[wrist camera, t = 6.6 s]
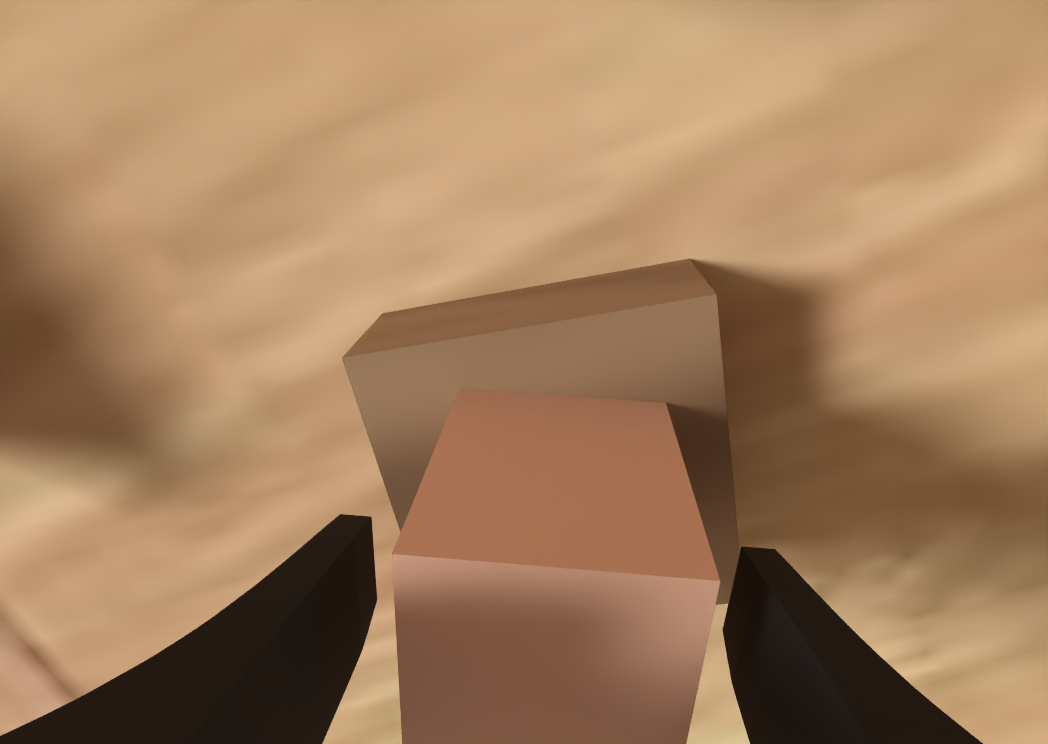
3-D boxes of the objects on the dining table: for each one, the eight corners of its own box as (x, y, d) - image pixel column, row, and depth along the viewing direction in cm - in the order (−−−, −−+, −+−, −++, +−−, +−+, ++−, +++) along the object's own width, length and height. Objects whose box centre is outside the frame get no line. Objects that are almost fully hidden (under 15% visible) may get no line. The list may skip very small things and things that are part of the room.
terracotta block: (642, 567, 15) (674, 796, 10) (459, 552, 15) (403, 769, 10) (665, 402, 13) (720, 580, 8) (458, 388, 14) (392, 553, 9)
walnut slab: (714, 516, 19) (743, 602, 15) (456, 546, 20) (434, 632, 17) (687, 255, 16) (716, 293, 12) (386, 309, 17) (341, 357, 14)
